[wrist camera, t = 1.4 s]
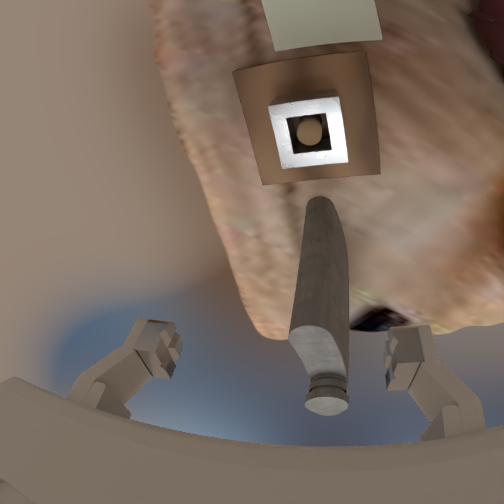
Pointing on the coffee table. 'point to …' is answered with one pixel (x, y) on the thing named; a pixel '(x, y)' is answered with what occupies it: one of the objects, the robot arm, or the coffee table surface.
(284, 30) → the pad
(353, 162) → the peg stand
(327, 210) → the hip flask
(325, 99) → the collar
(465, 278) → the coffee table surface
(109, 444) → the robot arm
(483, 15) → the icecream
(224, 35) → the coffee table surface
